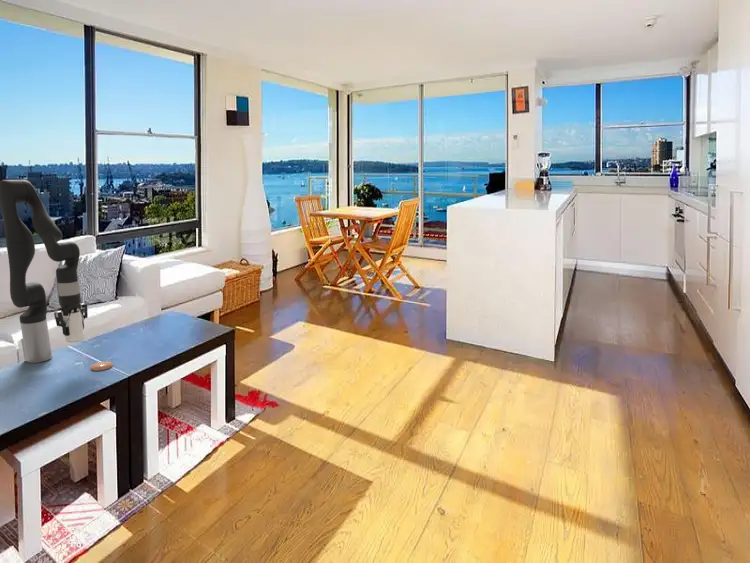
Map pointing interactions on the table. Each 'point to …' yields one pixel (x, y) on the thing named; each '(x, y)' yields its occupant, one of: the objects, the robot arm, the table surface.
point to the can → (75, 327)
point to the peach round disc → (101, 366)
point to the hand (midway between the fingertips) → (74, 332)
